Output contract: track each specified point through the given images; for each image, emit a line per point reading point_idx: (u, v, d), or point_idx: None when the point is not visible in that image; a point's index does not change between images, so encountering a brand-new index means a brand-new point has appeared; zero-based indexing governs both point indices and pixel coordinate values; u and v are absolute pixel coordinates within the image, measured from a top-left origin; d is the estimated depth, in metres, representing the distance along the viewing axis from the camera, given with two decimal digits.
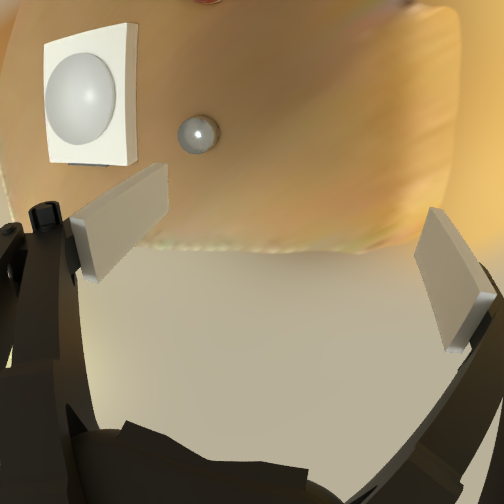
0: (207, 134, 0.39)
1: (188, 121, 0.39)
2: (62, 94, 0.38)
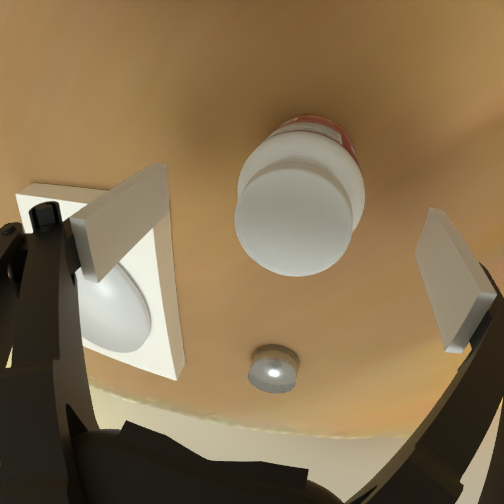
0: (289, 381, 0.30)
1: (264, 367, 0.30)
2: None
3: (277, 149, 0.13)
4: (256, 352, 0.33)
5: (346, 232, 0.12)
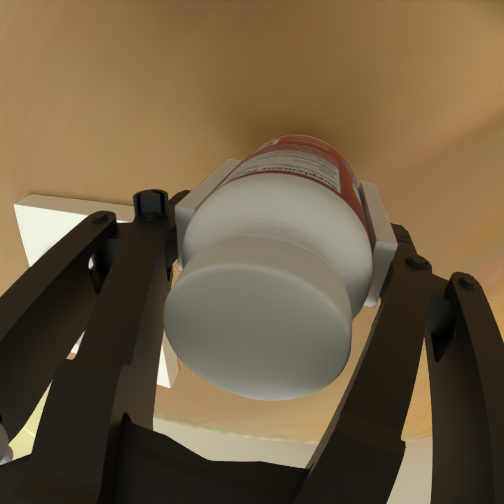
0: None
1: None
2: None
3: (233, 208, 0.08)
4: None
5: (339, 358, 0.07)
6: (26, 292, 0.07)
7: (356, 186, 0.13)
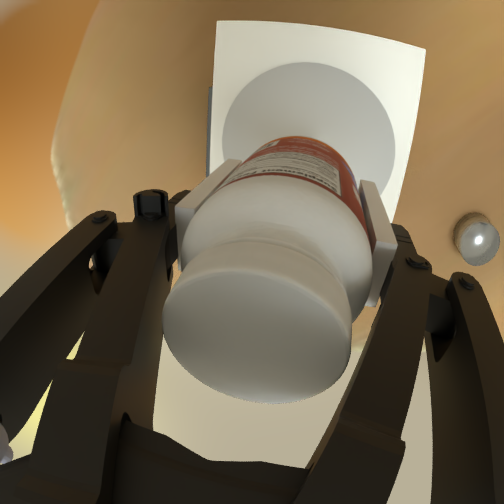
0: (494, 245, 0.26)
1: (481, 227, 0.26)
2: (275, 131, 0.25)
3: (232, 211, 0.08)
4: (461, 222, 0.28)
5: (339, 362, 0.07)
6: (25, 292, 0.07)
7: (356, 187, 0.13)
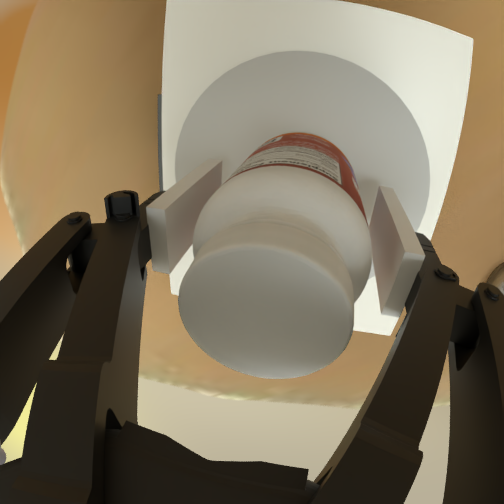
0: None
1: None
2: None
3: (243, 197, 0.09)
4: (497, 272, 0.20)
5: (343, 333, 0.08)
6: (8, 293, 0.06)
7: (355, 180, 0.13)
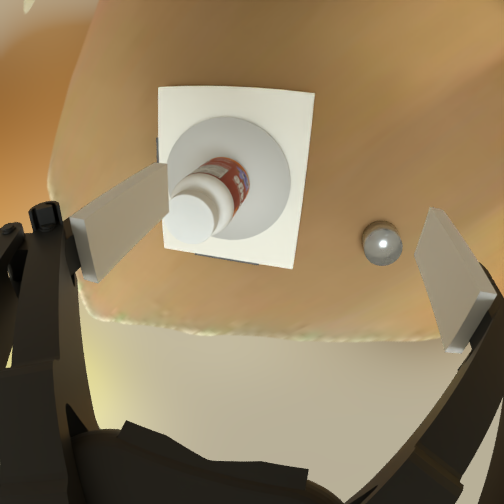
0: (397, 248, 0.37)
1: (380, 233, 0.36)
2: None
3: (184, 184, 0.27)
4: (366, 229, 0.39)
5: (211, 221, 0.26)
6: None
7: (241, 176, 0.32)
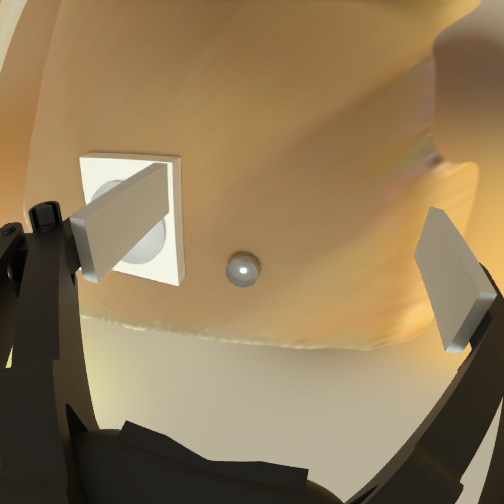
0: (252, 274, 0.50)
1: (235, 263, 0.49)
2: None
3: None
4: None
5: None
6: None
7: None
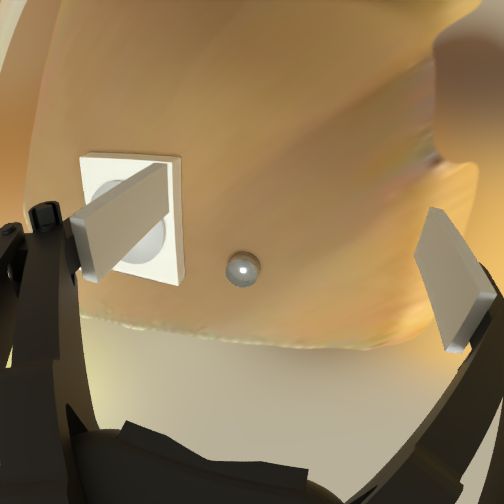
0: (252, 274, 0.50)
1: (235, 263, 0.49)
2: None
3: None
4: (231, 258, 0.52)
5: None
6: None
7: None
